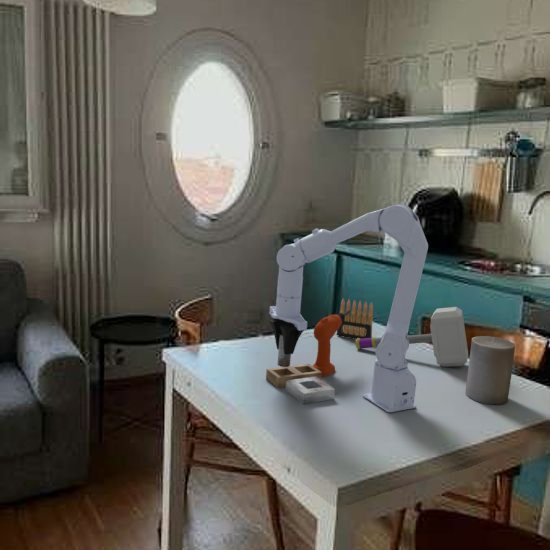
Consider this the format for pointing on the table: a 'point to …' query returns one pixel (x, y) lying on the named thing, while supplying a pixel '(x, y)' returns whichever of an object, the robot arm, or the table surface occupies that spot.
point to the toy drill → (327, 341)
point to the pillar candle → (490, 370)
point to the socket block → (310, 390)
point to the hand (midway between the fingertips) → (284, 351)
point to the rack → (291, 374)
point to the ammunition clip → (356, 321)
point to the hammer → (438, 337)
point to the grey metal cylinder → (283, 358)
